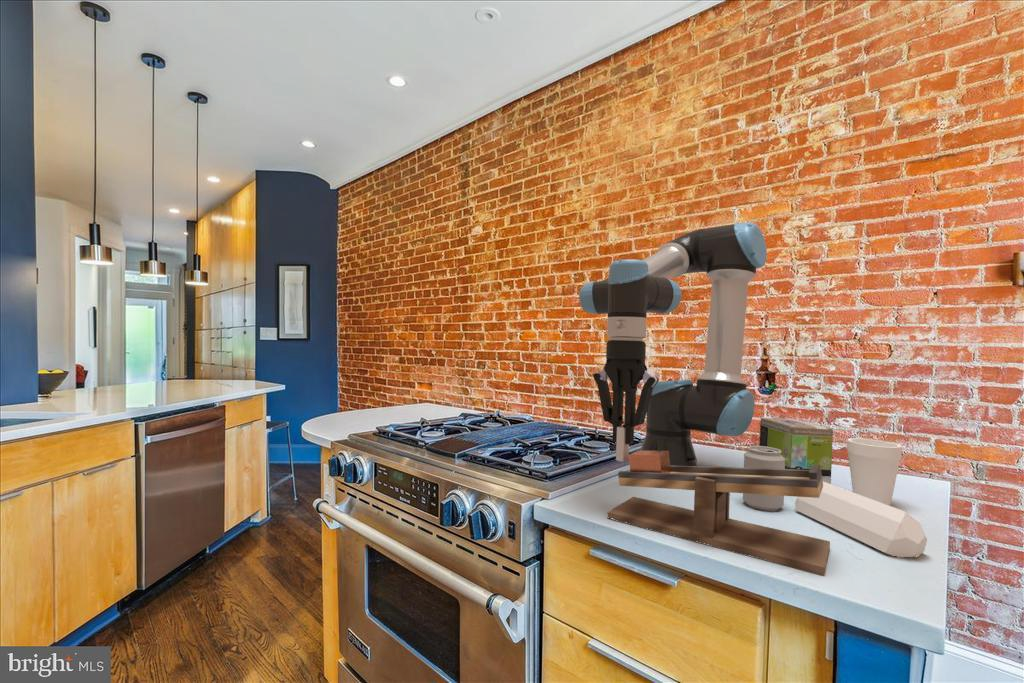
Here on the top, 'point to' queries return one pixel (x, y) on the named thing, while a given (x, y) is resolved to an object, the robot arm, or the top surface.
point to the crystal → (866, 520)
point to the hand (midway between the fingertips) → (622, 459)
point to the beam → (733, 480)
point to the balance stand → (725, 528)
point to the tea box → (799, 443)
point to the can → (768, 460)
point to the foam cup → (873, 468)
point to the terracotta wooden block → (650, 461)
